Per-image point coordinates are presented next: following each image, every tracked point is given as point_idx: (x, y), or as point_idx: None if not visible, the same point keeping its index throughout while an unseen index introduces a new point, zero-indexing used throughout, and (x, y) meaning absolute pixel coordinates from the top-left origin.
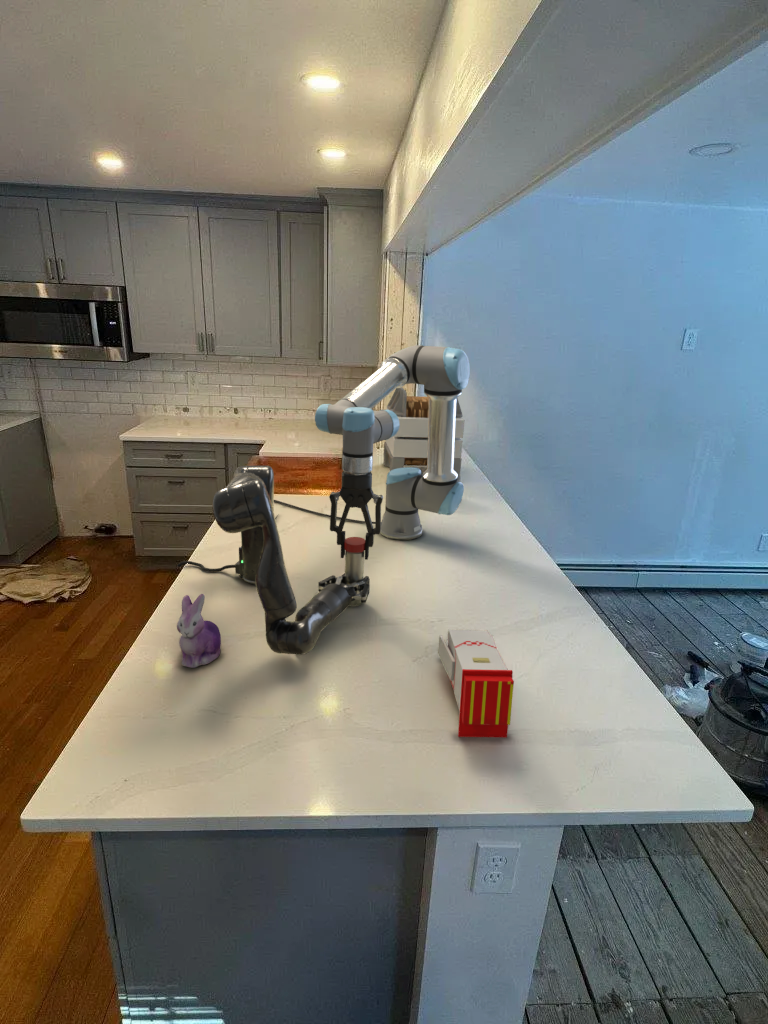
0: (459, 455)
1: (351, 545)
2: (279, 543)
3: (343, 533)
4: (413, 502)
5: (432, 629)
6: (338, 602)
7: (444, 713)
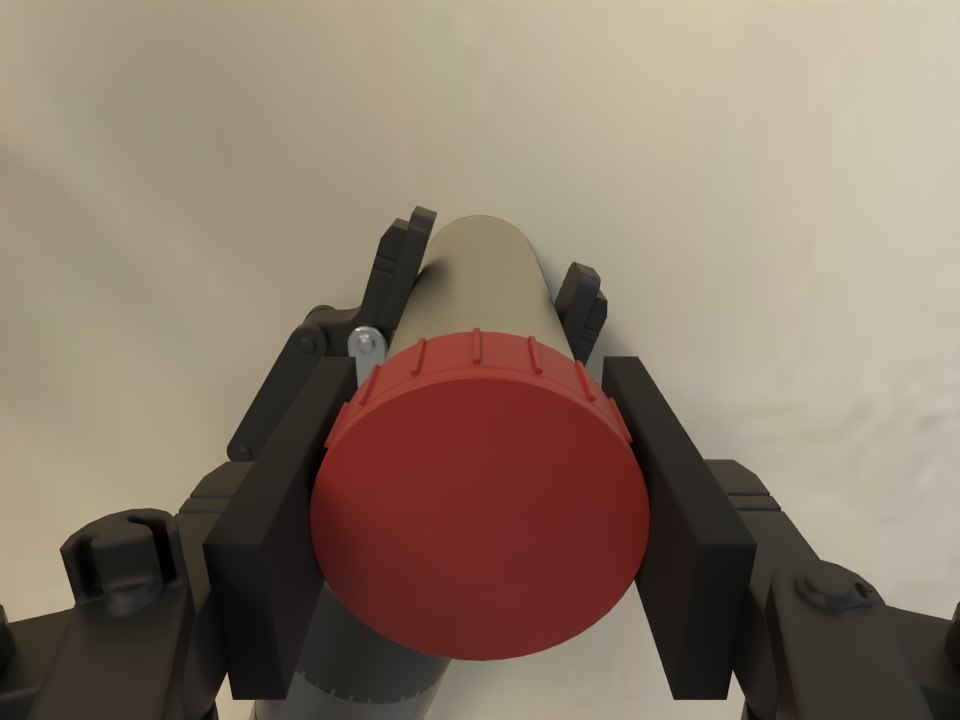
0: None
1: (446, 651)
2: None
3: (258, 648)
4: None
5: (910, 489)
6: (432, 694)
7: None
